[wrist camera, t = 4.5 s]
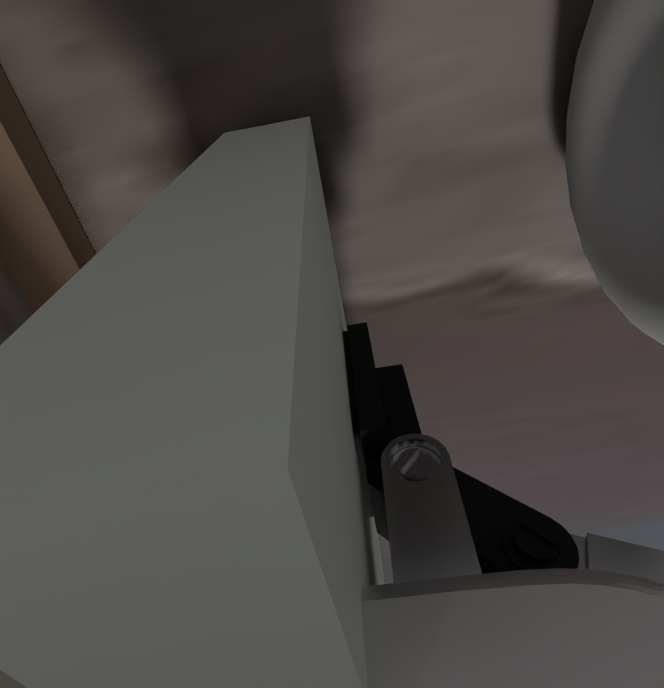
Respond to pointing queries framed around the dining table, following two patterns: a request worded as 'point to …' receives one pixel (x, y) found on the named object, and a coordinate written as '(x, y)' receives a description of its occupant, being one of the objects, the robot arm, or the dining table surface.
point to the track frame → (31, 221)
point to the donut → (621, 155)
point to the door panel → (190, 446)
